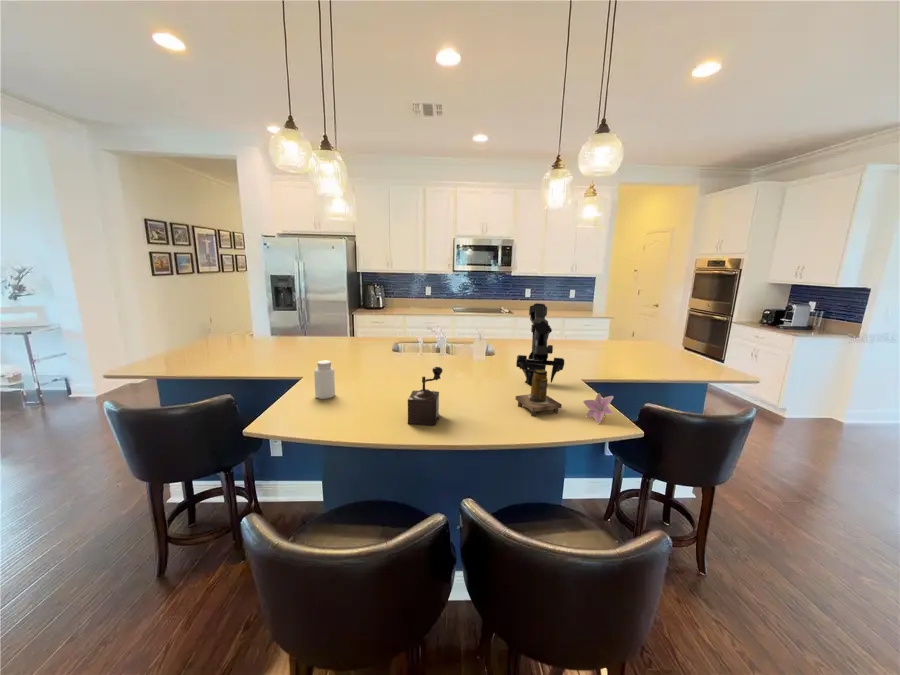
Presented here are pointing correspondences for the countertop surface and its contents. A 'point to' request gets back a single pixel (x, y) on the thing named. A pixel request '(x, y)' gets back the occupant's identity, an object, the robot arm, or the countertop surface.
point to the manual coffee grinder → (424, 404)
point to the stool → (538, 407)
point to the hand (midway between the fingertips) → (539, 381)
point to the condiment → (539, 387)
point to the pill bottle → (324, 380)
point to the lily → (599, 407)
